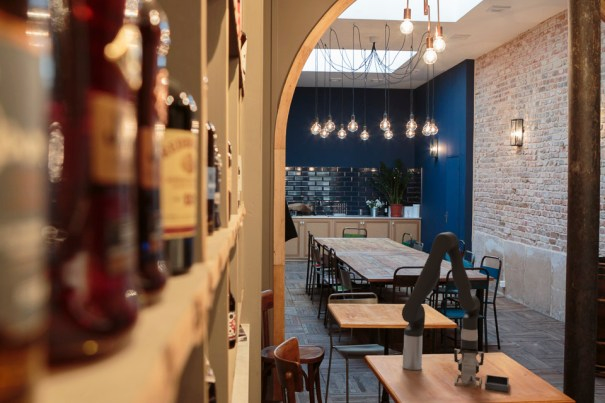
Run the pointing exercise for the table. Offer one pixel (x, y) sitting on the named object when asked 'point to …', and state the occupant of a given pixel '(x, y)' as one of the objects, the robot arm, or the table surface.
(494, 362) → the table surface
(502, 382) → the box
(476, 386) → the tray frame
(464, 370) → the coffee box
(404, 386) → the table surface
